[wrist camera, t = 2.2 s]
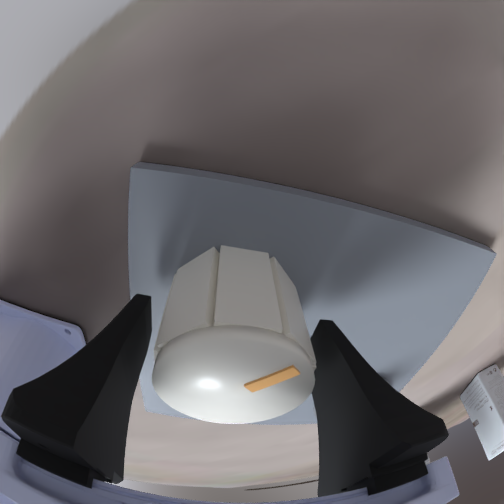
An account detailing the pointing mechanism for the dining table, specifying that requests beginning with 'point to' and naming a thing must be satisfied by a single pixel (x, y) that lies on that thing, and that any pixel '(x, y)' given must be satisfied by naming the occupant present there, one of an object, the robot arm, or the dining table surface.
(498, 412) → the skincare box
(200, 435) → the dining table surface
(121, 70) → the dining table surface
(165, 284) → the board
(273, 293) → the knob
